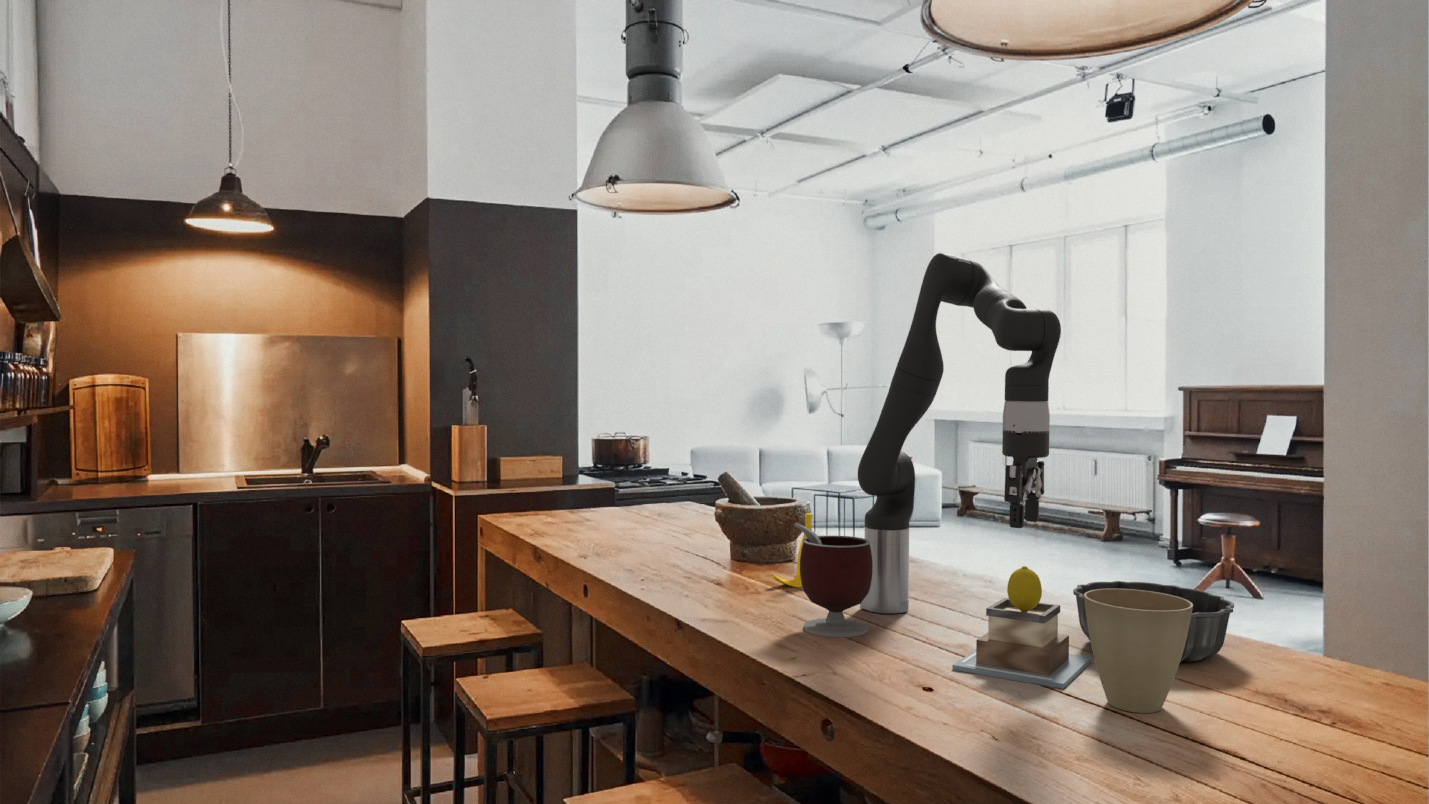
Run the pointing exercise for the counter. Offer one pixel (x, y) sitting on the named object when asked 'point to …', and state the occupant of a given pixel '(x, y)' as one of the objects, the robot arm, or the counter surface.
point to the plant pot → (1137, 644)
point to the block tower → (1023, 639)
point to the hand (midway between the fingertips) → (1024, 524)
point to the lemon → (1024, 589)
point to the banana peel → (797, 579)
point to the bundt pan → (1205, 617)
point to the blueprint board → (1056, 679)
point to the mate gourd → (835, 580)
